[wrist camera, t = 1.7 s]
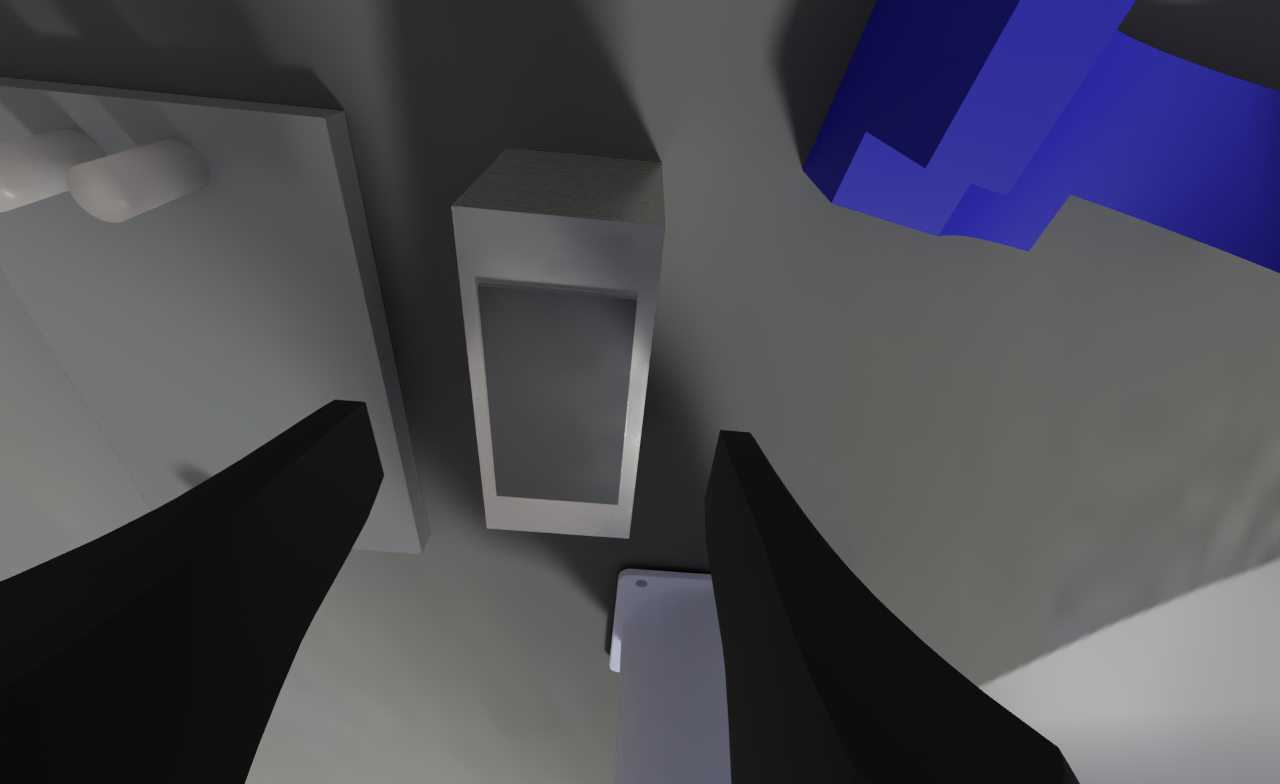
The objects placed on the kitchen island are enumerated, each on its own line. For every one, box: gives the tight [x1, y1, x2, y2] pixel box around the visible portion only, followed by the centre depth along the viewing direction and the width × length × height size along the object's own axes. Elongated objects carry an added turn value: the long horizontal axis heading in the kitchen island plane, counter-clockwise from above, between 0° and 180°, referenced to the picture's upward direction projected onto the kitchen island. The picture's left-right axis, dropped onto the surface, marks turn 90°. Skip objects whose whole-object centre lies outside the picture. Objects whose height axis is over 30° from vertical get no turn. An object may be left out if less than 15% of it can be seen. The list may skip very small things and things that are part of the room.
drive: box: [451, 148, 665, 539], centre depth 15 cm, size 4×9×5 cm, turn 175°
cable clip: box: [803, 0, 1280, 273], centre depth 12 cm, size 12×4×6 cm, turn 74°
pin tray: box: [0, 77, 430, 554], centre depth 17 cm, size 10×16×4 cm, turn 175°
